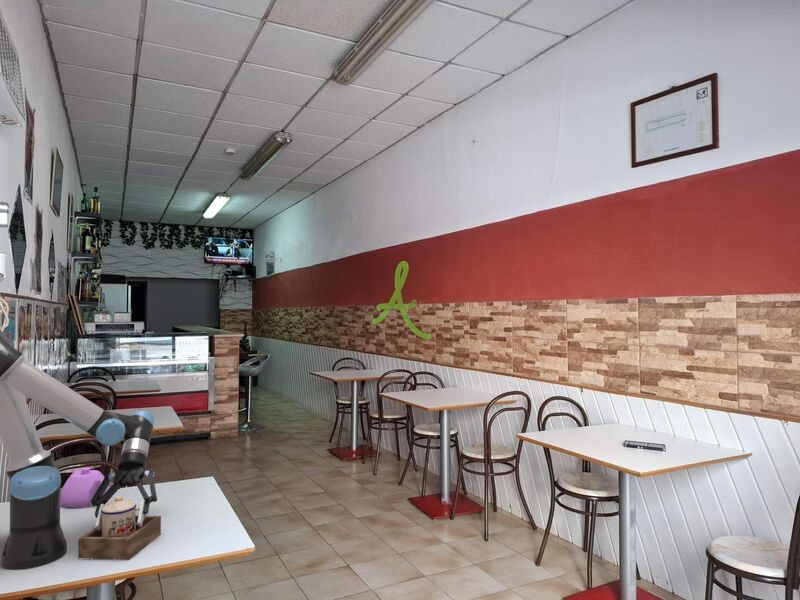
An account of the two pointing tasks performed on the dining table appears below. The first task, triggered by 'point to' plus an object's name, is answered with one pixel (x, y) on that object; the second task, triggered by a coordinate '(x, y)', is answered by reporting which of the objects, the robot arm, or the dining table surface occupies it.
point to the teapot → (81, 487)
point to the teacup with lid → (119, 518)
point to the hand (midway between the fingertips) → (118, 526)
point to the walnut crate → (119, 541)
